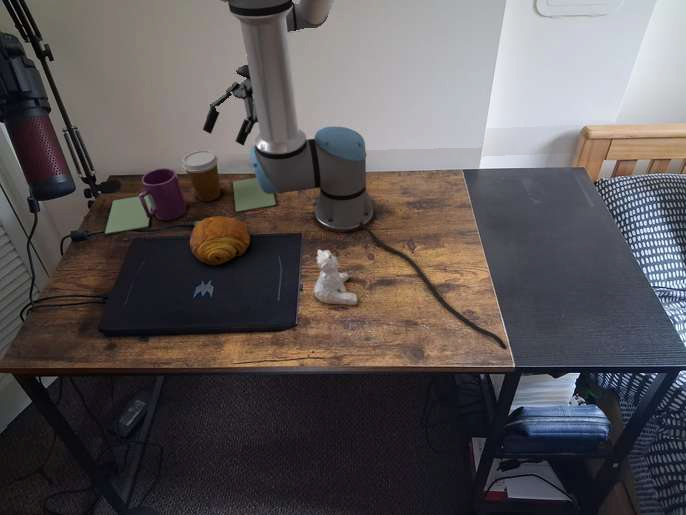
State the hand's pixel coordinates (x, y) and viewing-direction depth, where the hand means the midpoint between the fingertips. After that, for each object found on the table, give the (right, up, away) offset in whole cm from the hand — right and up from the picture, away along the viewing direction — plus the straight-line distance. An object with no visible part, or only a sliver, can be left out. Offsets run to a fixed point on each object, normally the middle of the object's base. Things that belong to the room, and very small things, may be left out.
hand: (222, 137), depth 128 cm
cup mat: (+8, -15, +3) cm, 18 cm away
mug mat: (-25, -21, -2) cm, 33 cm away
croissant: (+4, -31, -14) cm, 34 cm away
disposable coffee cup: (-5, -16, +4) cm, 17 cm away
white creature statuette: (+32, -42, -29) cm, 60 cm away
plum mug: (-15, -22, -2) cm, 26 cm away
